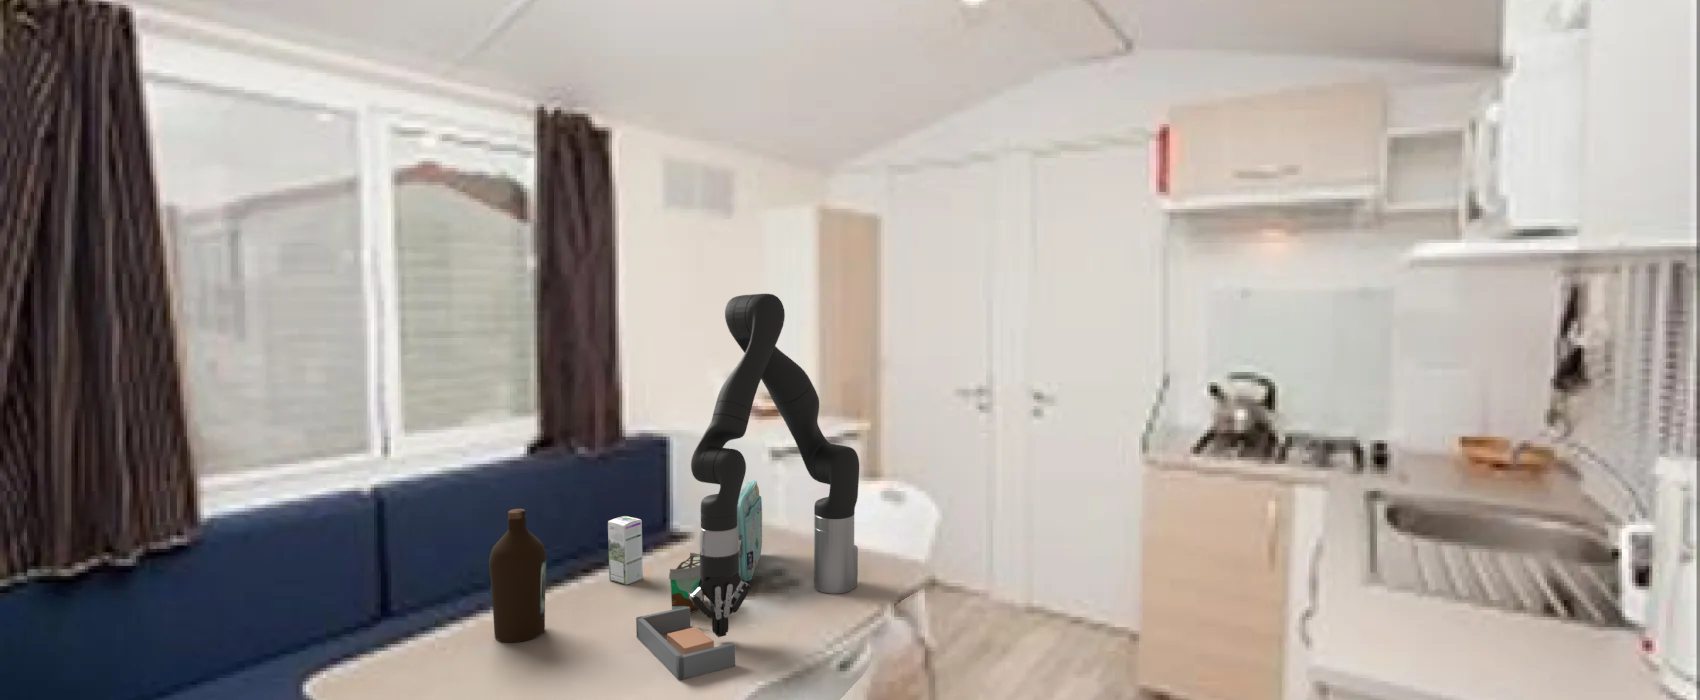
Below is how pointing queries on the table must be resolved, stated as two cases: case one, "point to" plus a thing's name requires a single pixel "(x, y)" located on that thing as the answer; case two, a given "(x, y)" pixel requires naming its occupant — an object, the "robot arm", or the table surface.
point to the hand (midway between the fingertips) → (720, 635)
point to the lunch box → (749, 529)
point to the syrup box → (625, 550)
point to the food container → (685, 582)
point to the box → (669, 656)
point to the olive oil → (518, 582)
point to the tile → (689, 640)
